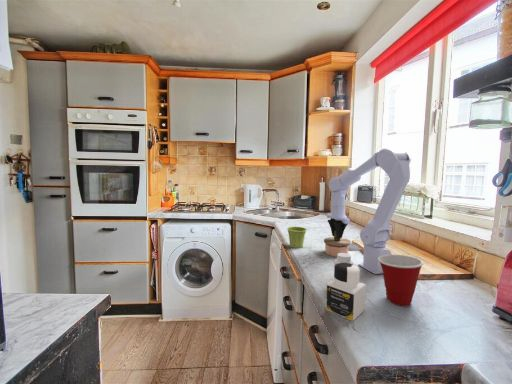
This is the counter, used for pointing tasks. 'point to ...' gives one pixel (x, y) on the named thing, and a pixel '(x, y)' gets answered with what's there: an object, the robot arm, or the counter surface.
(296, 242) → the plant pot
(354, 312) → the medicine bottle
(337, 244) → the lid
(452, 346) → the counter surface
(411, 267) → the plastic cup
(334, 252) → the bowl
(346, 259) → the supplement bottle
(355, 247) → the mat
